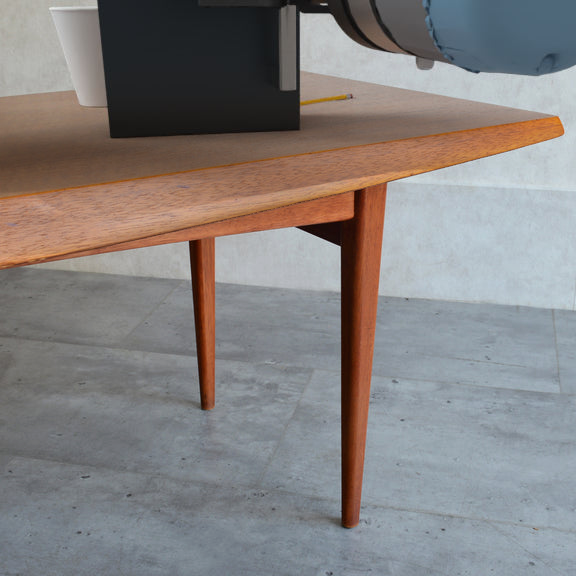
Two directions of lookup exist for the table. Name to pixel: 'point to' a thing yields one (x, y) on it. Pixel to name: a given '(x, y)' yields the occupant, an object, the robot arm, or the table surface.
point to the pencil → (326, 99)
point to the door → (199, 67)
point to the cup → (82, 51)
